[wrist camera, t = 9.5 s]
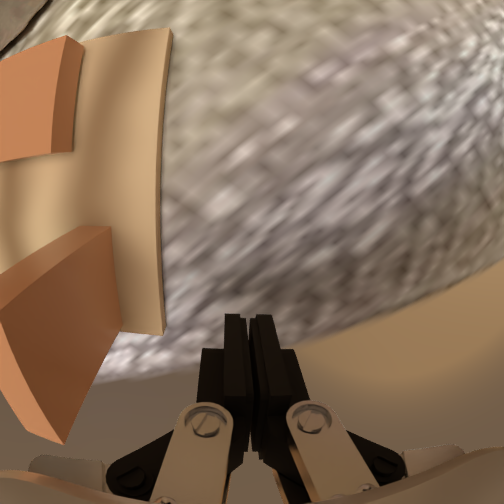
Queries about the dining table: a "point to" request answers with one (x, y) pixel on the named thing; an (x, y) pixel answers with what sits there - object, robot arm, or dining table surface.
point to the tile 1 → (39, 99)
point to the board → (103, 172)
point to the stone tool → (16, 17)
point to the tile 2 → (57, 328)
